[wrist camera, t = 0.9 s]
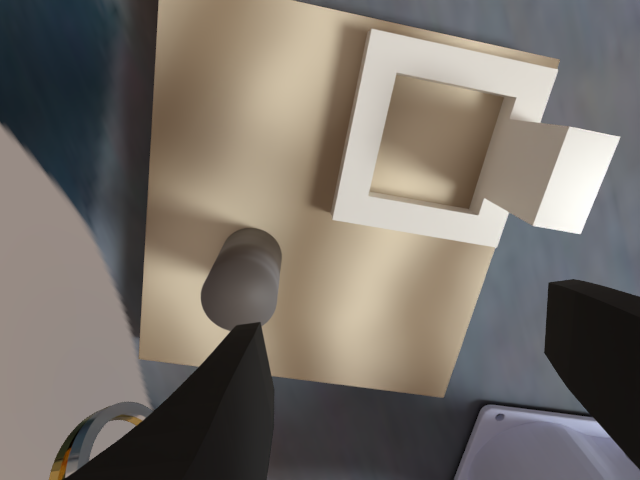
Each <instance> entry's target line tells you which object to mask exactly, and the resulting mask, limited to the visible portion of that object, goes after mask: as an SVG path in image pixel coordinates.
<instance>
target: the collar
mask: <svg viewBox="0 0 640 480" xmlns="http://www.w3.org/2000/svg"><path fill="white" fill-rule="evenodd" d="M557 72H558V69H553V68H549V67H544V66H540V65H535V64H531V63H526V62H521V61H517V60H512V59H508V58H503V57H499V56H494V55H490V54H485V53H480V52H476V51H471V50H467V49H462V48H458V47H453V46H449V45H444V44H439V43H435V42H430V41H426V40H421V39H417V38H412V37H407V36H403V35H398V34H394V33H389V32H385V31H380V30H376V29H371V30H370V31H369V32H368V33H367V37H366V42H365V47H364V52H363V57H362V62H361V66H360V71H359V76H358V81H357V86H356V91H355V96H354V101H353V106H352V111H351V116H350V121H349V125H348V130H347V135H346V140H345V145H344V150H343V155H342V160H341V165H340V170H339V175H338V180H337V184H336V189H335V194H334V199H333V204H332V209H331V216H332V220H336V221H342V222H348V223H354V224H360V225H365V226H371V227H377V228H383V229H389V230H395V231H401V232H407V233H413V234H419V235H425V236H431V237H437V238H443V239H448V240H454V241H460V242H466V243H472V244H478V245H484V246H490V247H496V248H497V246H498V243H499V240H500V237H501V234H502V231H503V228H504V225H505V223H506V220H507V217H508V214H509V212H510V213H511V214H513V215H515V216H517V217H518V218H520V219H522V220H524V221H525V222H527V223H529V224H531V225H532V226H537V227H543V228H548V229H554V230H560V231H566V232H571V233H577V234H581V232H582V229H583V227H584V224H585V222H586V219H587V217H588V215H589V212H590V210H591V207H592V205H593V202H594V200H595V198H596V195H597V193H598V190H599V188H600V185H601V183H602V181H603V178H604V176H605V173H606V171H607V168H608V166H609V163H610V161H611V159H612V156H613V154H614V151H615V149H616V146H617V144H618V142H619V139H620V137H618V136H613V135H608V134H603V133H598V132H593V131H588V130H584V129H579V128H574V127H569V126H560V125H552V124H544V123H540V121H541V119H542V116H543V113H544V110H545V107H546V104H547V101H548V98H549V96H550V93H551V90H552V87H553V84H554V81H555V78H556V75H557ZM396 75H400V76H405V77H410V78H414V79H419V80H424V81H429V82H434V83H438V84H443V85H448V86H453V87H458V88H462V89H467V90H472V91H477V92H481V93H486V94H491V95H496V96H501V97H504V99H503V102H502V106H501V109H500V112H499V115H498V118H497V121H496V125H495V128H494V131H493V134H492V137H491V141H490V144H489V147H488V150H487V153H486V157H485V160H484V163H483V166H482V169H481V173H480V176H479V179H478V182H477V185H476V188H475V192H474V195H473V198H472V201H471V204H470V208H469V209H466V208H460V207H454V206H449V205H443V204H438V203H432V202H426V201H421V200H415V199H409V198H404V197H398V196H393V195H387V194H381V193H376V192H370V186H371V182H372V178H373V173H374V169H375V164H376V160H377V156H378V151H379V147H380V143H381V138H382V134H383V130H384V125H385V121H386V117H387V112H388V108H389V104H390V99H391V95H392V91H393V86H394V82H395V78H396Z"/></svg>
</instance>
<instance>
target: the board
mask: <svg viewBox="0 0 640 480" xmlns="http://www.w3.org/2000/svg"><path fill="white" fill-rule="evenodd" d="M371 29H376V30H380V31H385V32H389V33H394V34H398V35H403V36H407V37H412V38H417V39H421V40H426V41H430V42H435V43H439V44H444V45H449V46H453V47H458V48H462V49H467V50H471V51H476V52H480V53H485V54H490V55H494V56H499V57H503V58H508V59H512V60H517V61H521V62H526V63H531V64H535V65H540V66H544V67H549V68H553V69H557V67H558V64H559V61H560V60H559V59H554V58H550V57H545V56H541V55H536V54H532V53H527V52H523V51H518V50H514V49H509V48H505V47H500V46H496V45H491V44H487V43H482V42H478V41H473V40H469V39H464V38H460V37H455V36H451V35H446V34H441V33H437V32H432V31H428V30H423V29H419V28H414V27H410V26H405V25H401V24H396V23H392V22H387V21H383V20H378V19H374V18H369V17H365V16H360V15H356V14H351V13H347V12H342V11H338V10H333V9H329V8H324V7H320V6H315V5H311V4H306V3H302V2H297V1H293V0H159V5H158V23H157V41H156V59H155V77H154V94H153V112H152V130H151V148H150V166H149V184H148V202H147V220H146V238H145V256H144V273H143V291H142V309H141V327H140V345H139V359H143V360H151V361H159V362H166V363H174V364H182V365H190V366H198V367H199V366H200V365H201V364H202V363H203V362H204V361H205V360H206V359H207V357H208V356H209V355H210V354H211V353H212V352H213V351H214V350H215V349H216V347H217V346H218V345H219V344H220V343H221V342H222V341H223V339H224V338H225V337H226V336H227V335H228V334H229V332H230V331H231V330H232V329H233V328H234V327H235V326H236V325H241V324H249V323H256V322H261V326H262V331H263V336H264V341H265V346H266V351H267V356H268V361H269V366H270V371H271V376H277V377H284V378H292V379H300V380H308V381H316V382H324V383H332V384H339V385H347V386H355V387H363V388H371V389H379V390H387V391H394V392H402V393H410V394H418V395H426V396H434V397H442V398H444V395H445V392H446V389H447V386H448V383H449V380H450V377H451V374H452V372H453V369H454V366H455V363H456V360H457V357H458V354H459V351H460V348H461V345H462V343H463V340H464V337H465V334H466V331H467V328H468V325H469V322H470V319H471V316H472V314H473V311H474V308H475V305H476V302H477V299H478V296H479V293H480V290H481V287H482V285H483V282H484V279H485V276H486V273H487V270H488V267H489V264H490V261H491V259H492V256H493V253H494V250H495V247H490V246H484V245H478V244H472V243H466V242H460V241H454V240H448V239H443V238H437V237H431V236H425V235H419V234H413V233H407V232H401V231H395V230H389V229H383V228H377V227H371V226H365V225H360V224H354V223H348V222H342V221H336V220H332V216H331V209H332V204H333V199H334V194H335V189H336V184H337V180H338V175H339V170H340V165H341V160H342V155H343V150H344V145H345V140H346V135H347V130H348V125H349V121H350V116H351V111H352V106H353V101H354V96H355V91H356V86H357V81H358V76H359V71H360V66H361V62H362V57H363V52H364V47H365V42H366V37H367V33H368V32H369V31H370V30H371ZM503 99H504V97H501V96H496V95H491V94H486V93H481V92H477V91H472V90H467V89H462V88H458V87H453V86H448V85H443V84H438V83H434V82H429V81H424V80H419V79H414V78H410V77H405V76H400V75H396V78H395V82H394V86H393V91H392V95H391V99H390V104H389V108H388V112H387V117H386V121H385V125H384V130H383V134H382V138H381V143H380V147H379V151H378V156H377V160H376V164H375V169H374V173H373V178H372V182H371V186H370V192H376V193H381V194H387V195H393V196H398V197H404V198H409V199H415V200H421V201H426V202H432V203H438V204H443V205H449V206H454V207H460V208H466V209H469V208H470V204H471V201H472V198H473V195H474V192H475V188H476V185H477V182H478V179H479V176H480V173H481V169H482V166H483V163H484V160H485V157H486V153H487V150H488V147H489V144H490V141H491V137H492V134H493V131H494V128H495V125H496V121H497V118H498V115H499V112H500V109H501V106H502V102H503Z"/></svg>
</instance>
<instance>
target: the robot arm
mask: <svg viewBox="0 0 640 480" xmlns="http://www.w3.org/2000/svg"><path fill="white" fill-rule="evenodd" d="M544 353H545V355H546V356H547V358H548V359H549V361H550V362H551V364H552V366H553V367H554V369H555V370H556V372H557V373H558V375H559V376H560V378H561V379H562V381H563V382H564V383H565V385H566V386H567V388H568V389H569V390H570V391H571V392H572V394H573V395H574V396H575V397H576V398H577V399H578V401H579V402H580V403H581V404H582V405H583V406H584V408H585V409H586V410H587V411H588V412H589V413H590V414H591V416H592V417H586V416H578V415H570V414H562V413H554V412H547V411H539V410H531V409H523V408H515V407H507V406H499V405H486V406H484V407H483V408H482V409H481V410H480V412H479V415H478V418H477V420H476V423H475V425H474V428H473V431H472V433H471V436H470V439H469V441H468V444H467V446H466V449H465V452H464V454H463V457H462V459H461V462H460V465H459V467H458V470H457V472H456V475H455V478H454V480H640V297H638V296H635V295H632V294H628V293H625V292H622V291H618V290H615V289H612V288H608V287H604V286H601V285H597V284H593V283H589V282H585V281H580V280H575V279H572V280H564V281H557V282H550V283H549V286H548V302H547V318H546V335H545V351H544ZM498 414H500V415H498ZM496 415H498V416H496ZM273 428H274V386H273V381H272V376H271V371H270V366H269V361H268V356H267V351H266V346H265V341H264V336H263V331H262V326H261V322H256V323H249V324H241V325H236V326H235V327H234V328H233V329H232V330H231V331H230V332H229V334H228V335H227V336H226V337H225V338H224V339H223V341H222V342H221V343H220V344H219V345H218V346H217V347H216V349H215V350H214V351H213V352H212V353H211V354H210V355H209V356H208V357H207V359H206V360H205V361H204V362H203V363H202V364H201V365H200V366H199V367H198V368H197V370H196V371H195V372H194V373H193V374H192V375H191V376H190V377H189V378H188V379H187V380H186V381H185V382H184V383H183V384H182V385H181V386H180V387H179V388H178V389H177V390H176V391H175V392H174V393H173V394H172V395H171V396H170V397H169V398H168V399H167V400H166V401H164V402H163V403H162V404H161V405H160V406H159V407H158V408H157V409H156V410H154V411H153V412H152V413H151V414H150V415H149V416H148V417H146V418H145V419H144V420H143V421H142V422H140V423H139V424H138V425H137V426H136V427H134V428H133V429H132V430H131V431H129V432H128V433H127V434H126V435H124V436H123V437H122V438H121V439H119V440H118V441H117V442H115V443H114V444H112V445H111V446H110V447H108V448H107V449H106V450H104V451H103V452H101V453H100V454H99V455H97V456H96V457H94V458H93V459H92V460H91V461H89V462H88V463H86V464H85V465H83V466H82V467H81V468H79V469H78V470H76V471H75V472H74V473H72V474H71V475H69V476H68V477H66V478H64V479H63V480H266V479H267V472H268V465H269V458H270V451H271V443H272V436H273Z"/></svg>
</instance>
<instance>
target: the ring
mask: <svg viewBox="0 0 640 480" xmlns="http://www.w3.org/2000/svg"><path fill="white" fill-rule="evenodd" d="M152 412H153V411H152V410H151V409H149V408H148V407H146V406H144V405H142V404H139V403H135V402H122V403H118V404H115V405H112V406H109V407H106V408H104V409H102V410H100V411H98V412H96V413H94V414H92V415H90V416H89V417H87V418H86V419H84V420H83V421H82V422H81V423H80V424H79V425H78V426H77V427H76V428H75V429H74V430H73V431H72V432H71V433H70V435H69V436H68V437H67V439H66V440H65V442H64V443H63V445H62V446H61V448H60V450H59V452H58V454H57V456H56V458H55V461H54V464H53V466H52V470H51V473H50V478H49V480H63V479H64V478H66V477H68V476H69V475H71V474H72V473H74V472H75V471H76V470H78V469H79V468H81V467H82V466H83V465H85V464H86V463H88V462H89V457H90V452H91V449H92V446H93V443H94V441H95V439H96V437H97V435H98V433H99V432H100V430H101V429H102V427H103V426H104V425H105V424H106V423H107V422H108V421H112V420H125V421H128V422H131V423H133V424H135V425H136V426H137V425H138V424H139V423H140V422H142V421H143V420H144V419H145V418H146V417H148V416H149V415H150V414H151V413H152Z"/></svg>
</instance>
